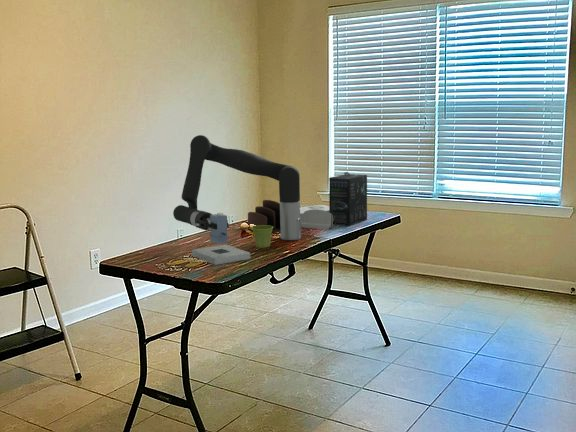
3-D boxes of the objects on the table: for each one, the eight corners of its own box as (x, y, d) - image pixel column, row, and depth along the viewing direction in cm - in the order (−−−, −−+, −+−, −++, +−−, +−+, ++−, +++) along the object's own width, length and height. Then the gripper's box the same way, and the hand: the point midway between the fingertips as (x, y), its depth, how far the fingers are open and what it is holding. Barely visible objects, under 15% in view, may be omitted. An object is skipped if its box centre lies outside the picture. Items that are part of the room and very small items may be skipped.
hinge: (298, 227, 320) (301, 207, 321) (303, 228, 324) (305, 209, 325) (329, 229, 312) (331, 209, 313) (332, 231, 316) (335, 211, 317)
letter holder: (264, 225, 327) (264, 198, 325) (284, 231, 310) (283, 202, 308) (247, 227, 322) (246, 199, 320) (266, 233, 305) (265, 204, 303)
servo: (209, 241, 260) (208, 212, 258) (218, 239, 262) (218, 211, 261) (220, 244, 252) (220, 215, 250) (230, 243, 254) (230, 214, 253)
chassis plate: (191, 255, 263) (191, 249, 262) (225, 250, 272) (225, 244, 271) (215, 265, 246) (214, 258, 246) (250, 258, 255) (250, 252, 255)
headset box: (347, 217, 344) (347, 169, 339) (367, 219, 338) (368, 170, 333) (328, 224, 325) (327, 174, 320) (349, 226, 319) (349, 175, 314)
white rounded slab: (270, 218, 347) (270, 209, 346) (323, 213, 361) (323, 204, 360) (285, 224, 330) (285, 214, 330) (340, 218, 345) (340, 209, 344)
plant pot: (271, 249, 272) (271, 229, 270) (250, 248, 273) (249, 229, 272) (275, 244, 281) (275, 225, 279) (254, 244, 282) (254, 225, 281)
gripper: (186, 212, 264) (205, 218, 250) (217, 209, 272) (237, 215, 258) (187, 230, 265) (206, 237, 251) (217, 226, 273) (237, 233, 259)
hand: (222, 226), depth 255 cm, fingers closed on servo, 4 cm apart
